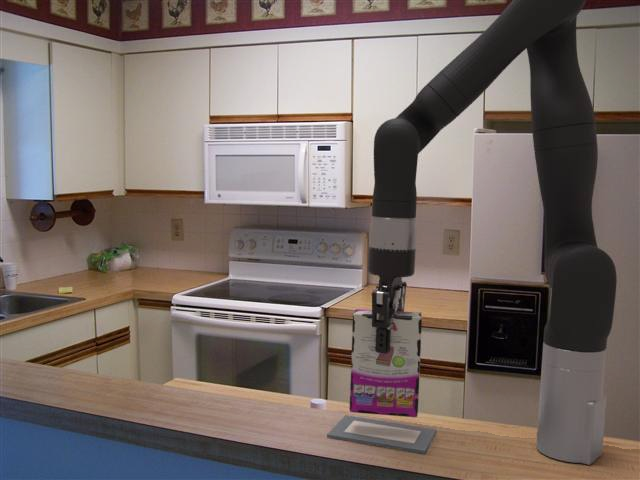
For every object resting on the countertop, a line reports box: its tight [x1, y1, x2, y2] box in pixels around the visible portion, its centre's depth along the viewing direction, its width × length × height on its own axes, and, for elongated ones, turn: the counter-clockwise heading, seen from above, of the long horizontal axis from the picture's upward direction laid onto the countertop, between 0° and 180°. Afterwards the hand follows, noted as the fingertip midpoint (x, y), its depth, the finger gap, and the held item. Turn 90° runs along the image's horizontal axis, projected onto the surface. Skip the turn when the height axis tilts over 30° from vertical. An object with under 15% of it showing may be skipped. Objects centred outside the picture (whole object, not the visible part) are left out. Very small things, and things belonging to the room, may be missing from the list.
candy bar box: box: [349, 308, 423, 418], centre depth 111 cm, size 11×5×16 cm, turn 82°
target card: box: [326, 414, 437, 455], centre depth 112 cm, size 16×10×1 cm, turn 70°
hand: (387, 348), depth 111 cm, fingers closed on candy bar box, 5 cm apart
